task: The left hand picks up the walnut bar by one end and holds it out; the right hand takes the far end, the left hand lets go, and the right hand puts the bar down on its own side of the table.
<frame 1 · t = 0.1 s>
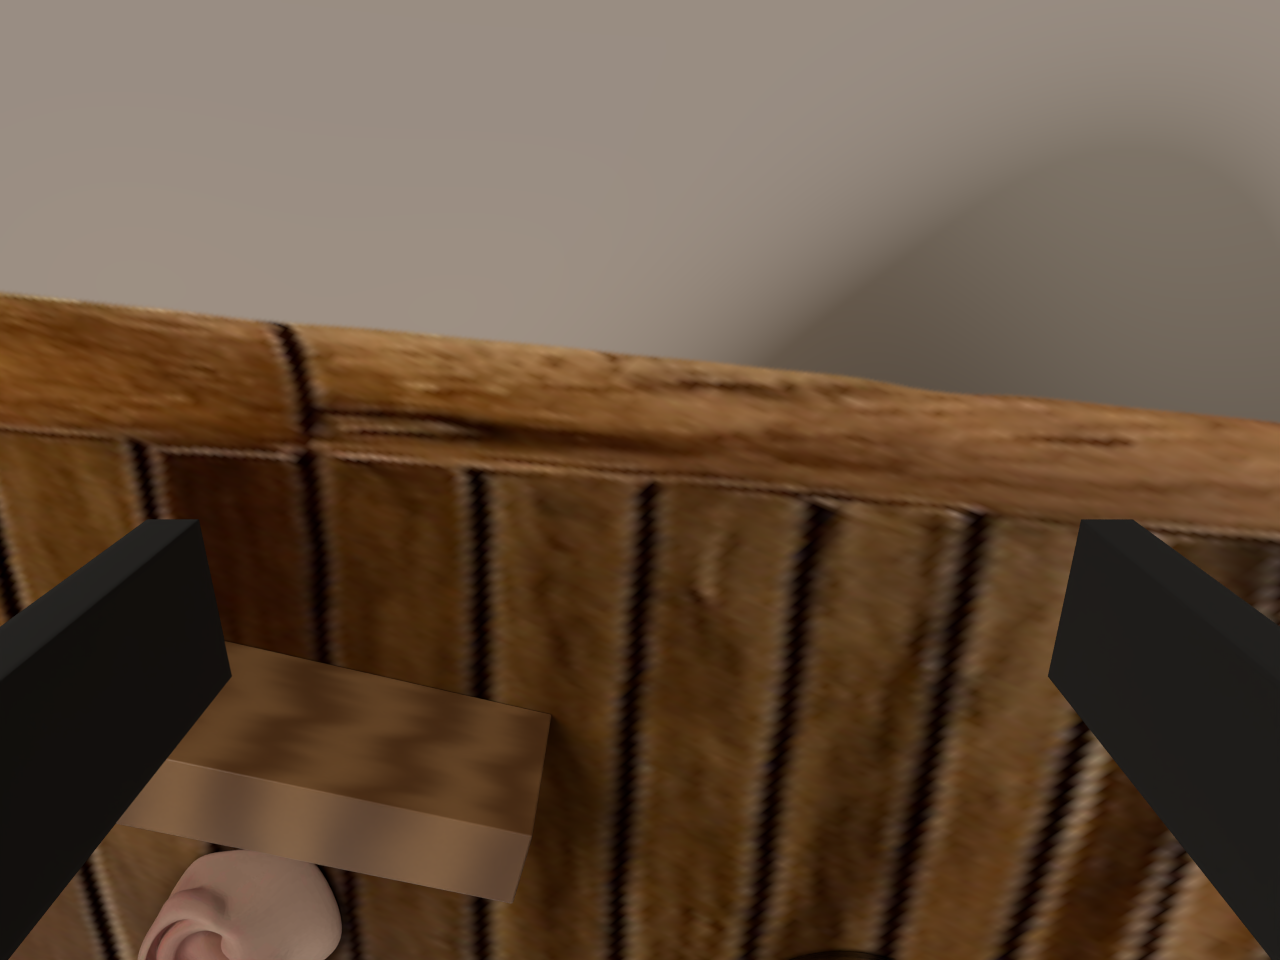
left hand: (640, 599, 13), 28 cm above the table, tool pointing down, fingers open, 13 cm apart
bar: (325, 696, 46), on the table
anatomical model: (250, 918, 53), on the table
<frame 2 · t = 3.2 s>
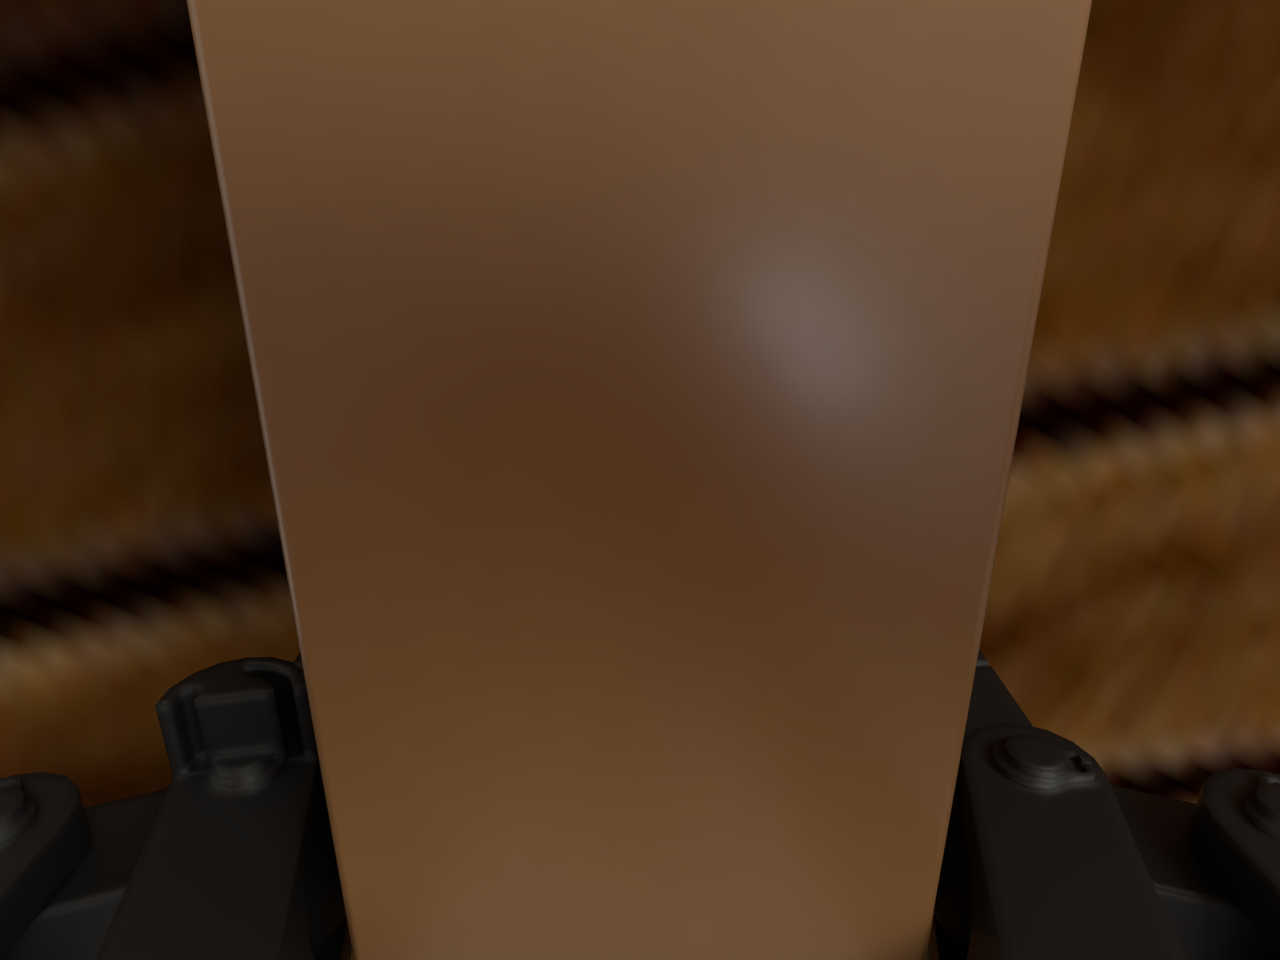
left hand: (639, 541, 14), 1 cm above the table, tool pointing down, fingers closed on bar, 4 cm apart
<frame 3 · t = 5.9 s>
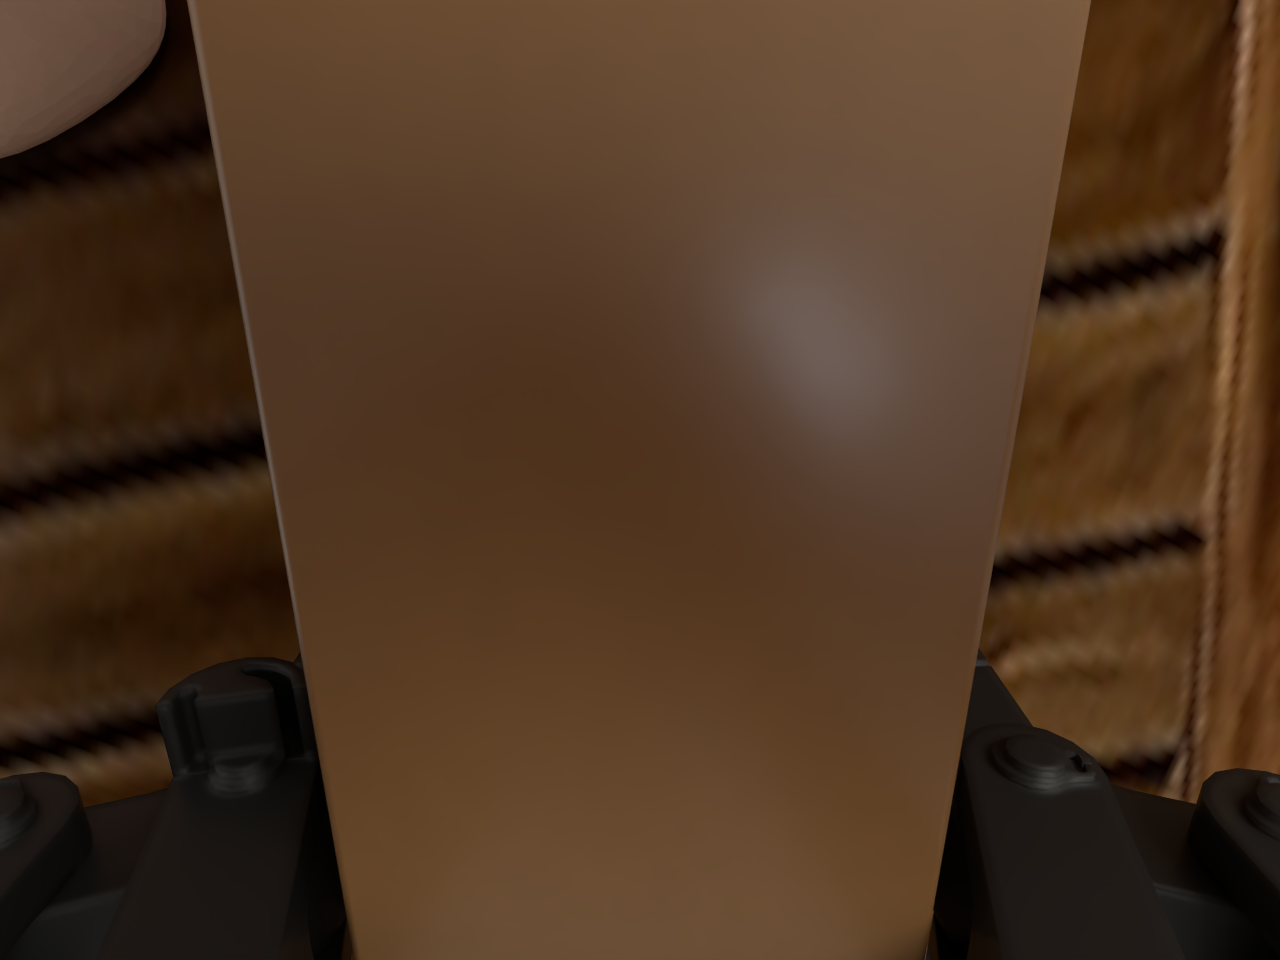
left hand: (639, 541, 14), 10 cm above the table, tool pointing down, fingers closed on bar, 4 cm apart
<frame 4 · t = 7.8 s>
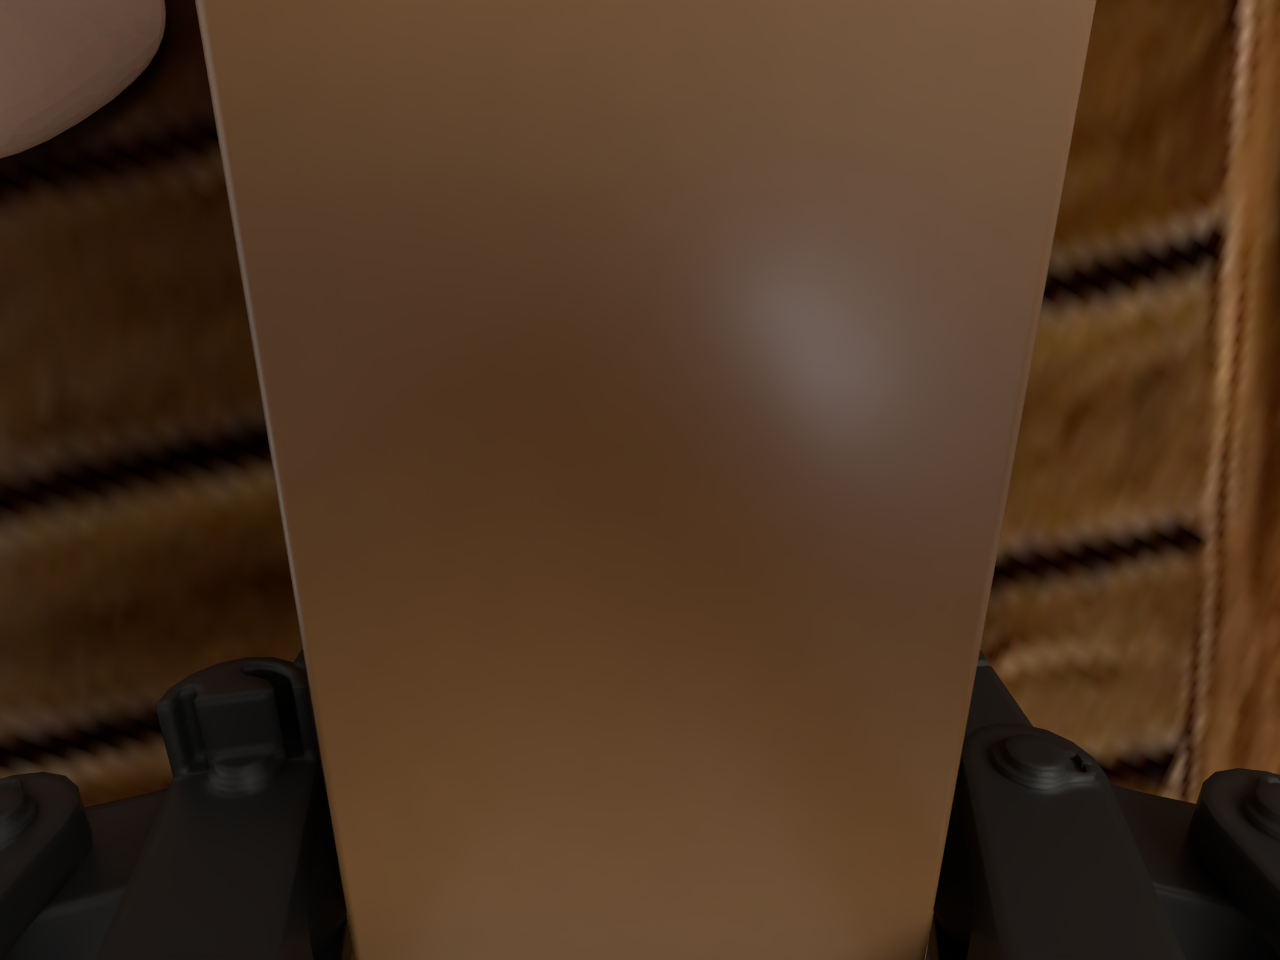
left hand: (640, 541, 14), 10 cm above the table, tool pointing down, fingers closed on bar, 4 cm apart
when the left hand's fingers open (10 cm above the table, at t = 8.5 s): bar stays where it is, held by the right hand.
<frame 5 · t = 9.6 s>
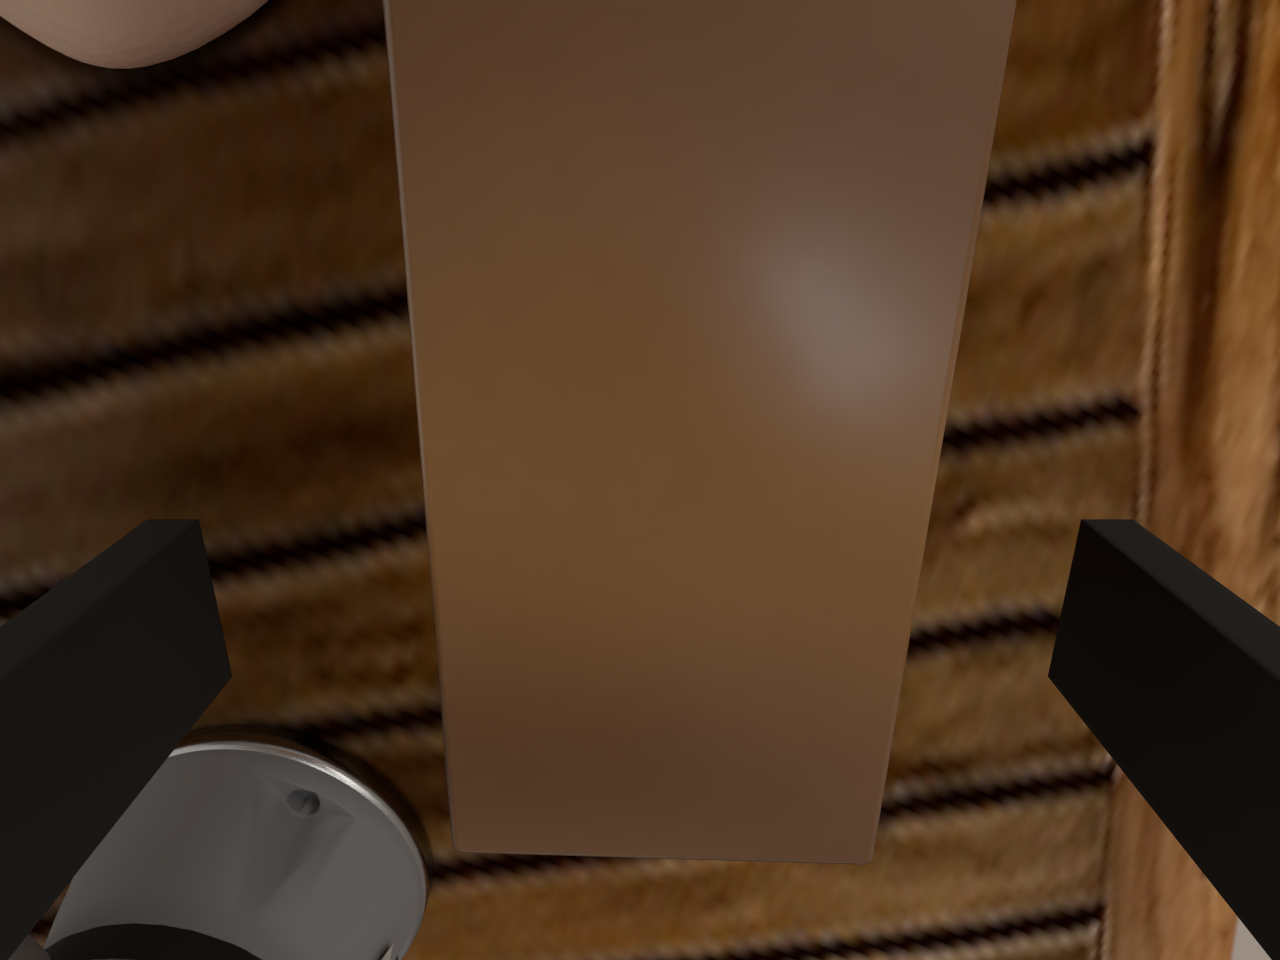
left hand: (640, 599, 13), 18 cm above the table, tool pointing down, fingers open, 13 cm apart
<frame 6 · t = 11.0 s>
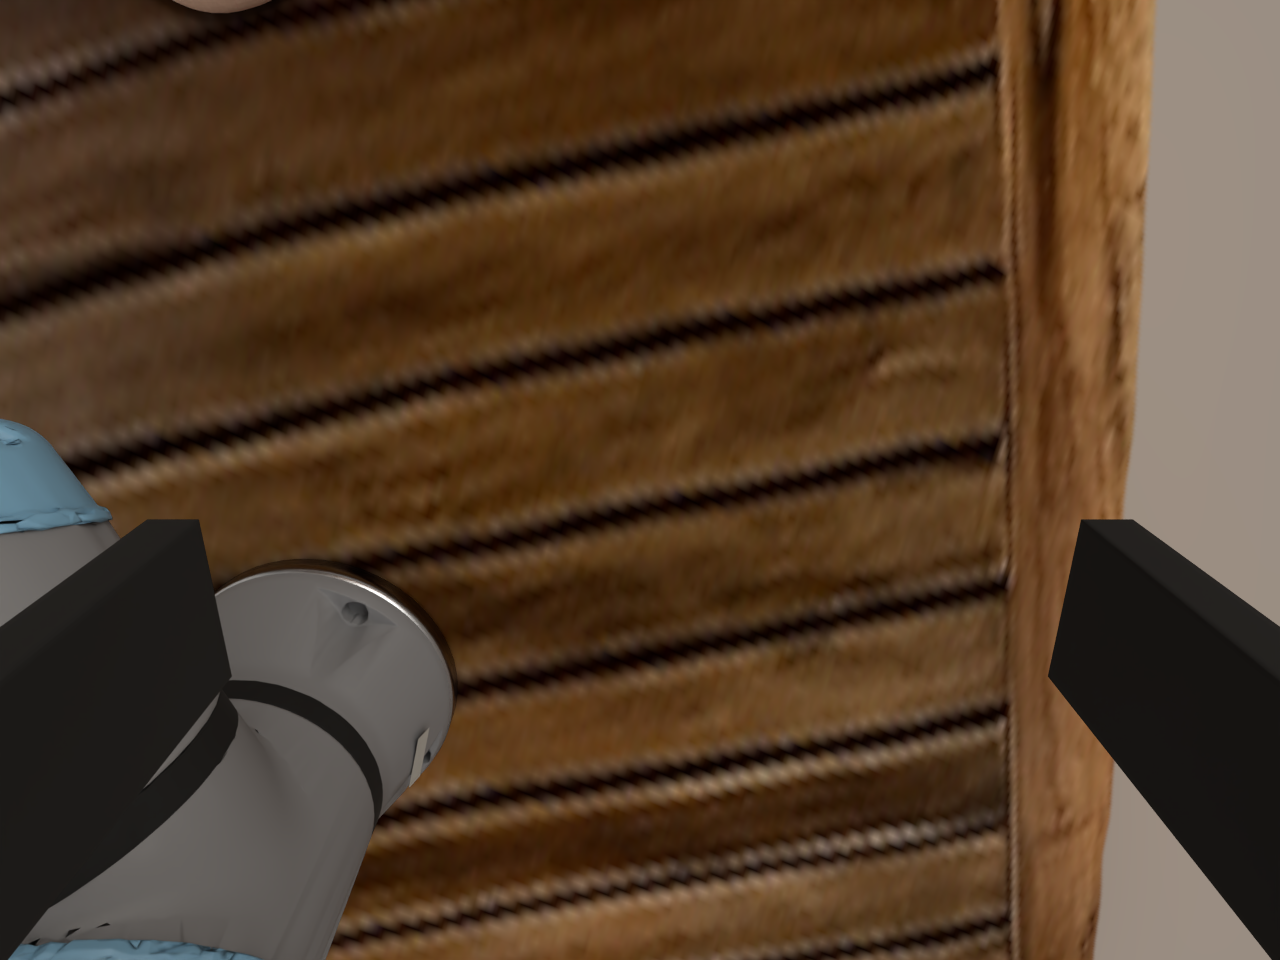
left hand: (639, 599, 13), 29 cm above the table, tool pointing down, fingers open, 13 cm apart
when the right hand's fingers open (2 cm above the table, at t = 14.3 s): bar drops 1 cm, on the table.
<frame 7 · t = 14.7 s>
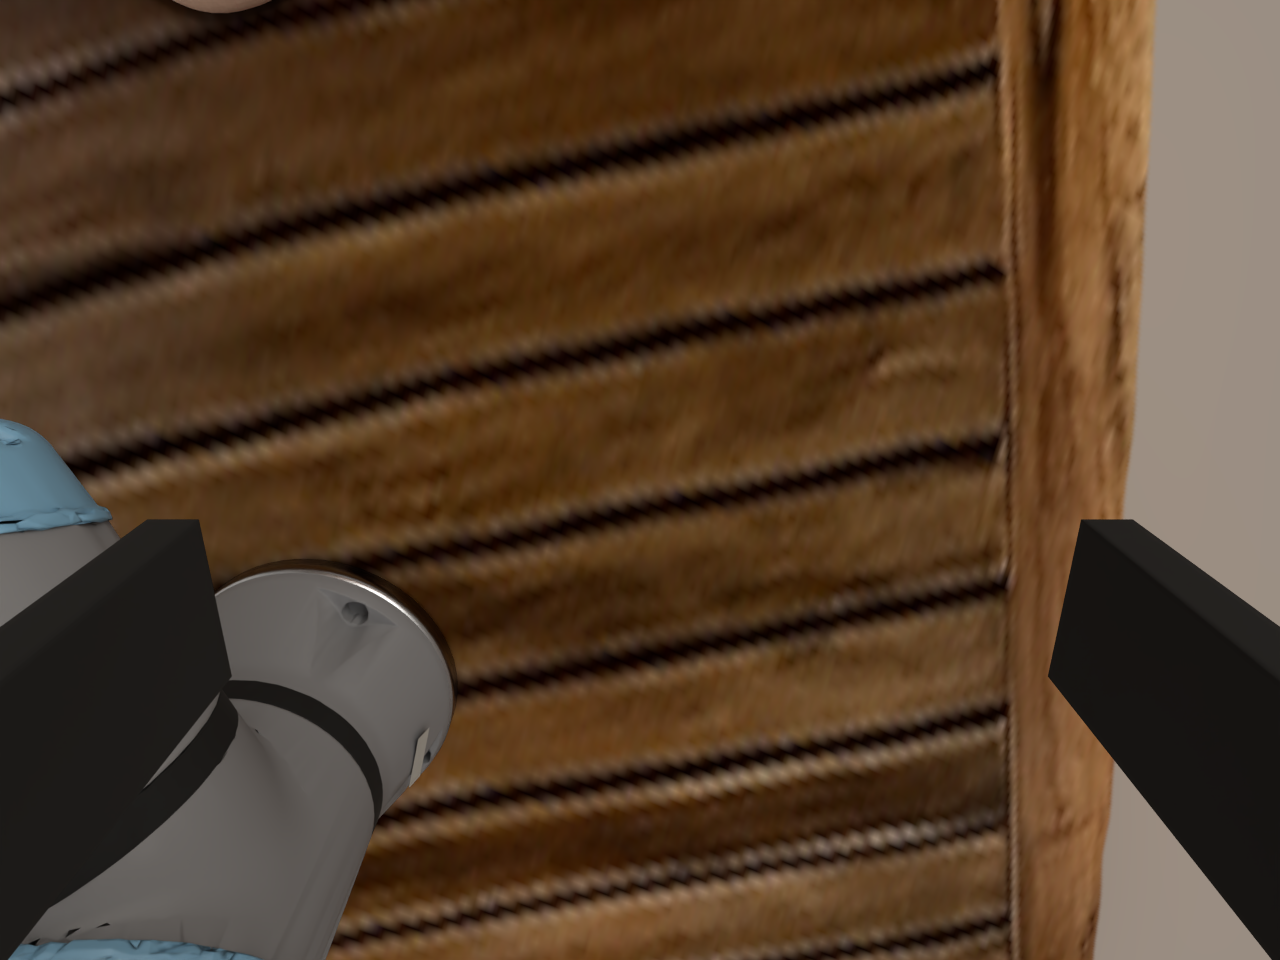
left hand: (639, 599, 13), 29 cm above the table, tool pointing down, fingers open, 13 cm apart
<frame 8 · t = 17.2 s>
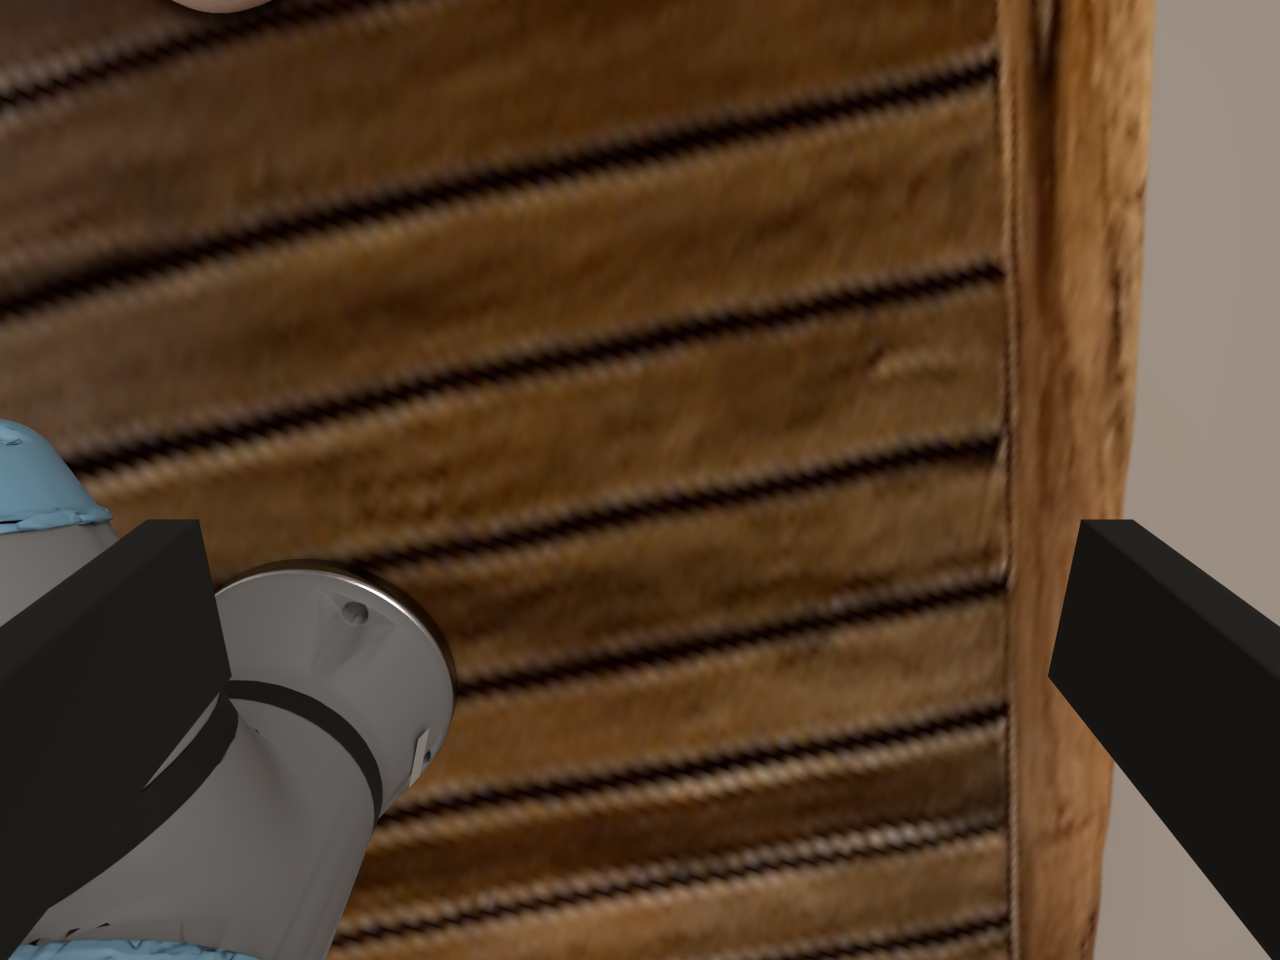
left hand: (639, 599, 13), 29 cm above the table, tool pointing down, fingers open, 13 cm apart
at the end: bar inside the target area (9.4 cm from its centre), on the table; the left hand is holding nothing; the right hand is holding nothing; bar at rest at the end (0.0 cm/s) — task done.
